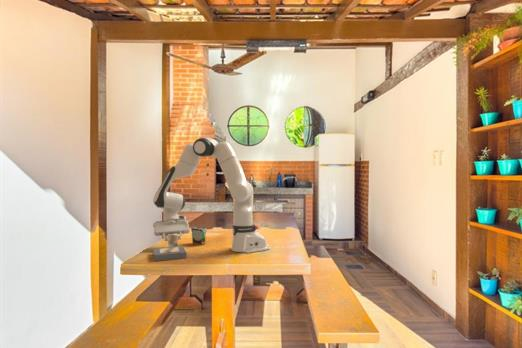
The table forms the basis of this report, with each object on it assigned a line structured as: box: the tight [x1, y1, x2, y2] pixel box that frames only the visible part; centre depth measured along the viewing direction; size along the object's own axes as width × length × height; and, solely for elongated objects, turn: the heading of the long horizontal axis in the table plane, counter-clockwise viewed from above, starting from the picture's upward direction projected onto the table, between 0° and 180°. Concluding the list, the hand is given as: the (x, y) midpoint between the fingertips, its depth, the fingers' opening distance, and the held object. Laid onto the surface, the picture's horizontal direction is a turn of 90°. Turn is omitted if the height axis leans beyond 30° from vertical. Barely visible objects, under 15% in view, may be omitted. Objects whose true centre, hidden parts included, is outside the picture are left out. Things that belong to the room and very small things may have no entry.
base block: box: [152, 245, 187, 262], centre depth 184 cm, size 16×16×3 cm
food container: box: [190, 226, 208, 246], centre depth 214 cm, size 12×6×10 cm, turn 47°
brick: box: [167, 233, 179, 247], centre depth 198 cm, size 5×5×9 cm
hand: (172, 239), depth 198 cm, fingers open, 6 cm apart
